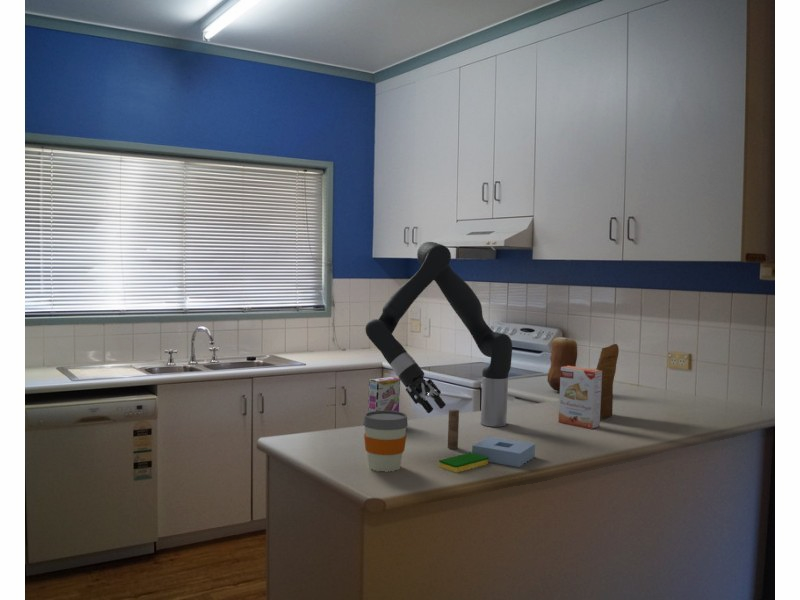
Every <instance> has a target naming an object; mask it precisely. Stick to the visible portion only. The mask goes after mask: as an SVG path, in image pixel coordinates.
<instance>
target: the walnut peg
mask: <svg viewBox="0 0 800 600" xmlns="http://www.w3.org/2000/svg"><path fill="white" fill-rule="evenodd" d="M459 419H460V410H459V409H448V427H447V449H448V448H449V449H448V450H458V449H457V448H459V422H460V421H459Z"/></svg>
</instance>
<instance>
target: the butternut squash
mask: <svg viewBox="0 0 800 600" xmlns="http://www.w3.org/2000/svg"><path fill="white" fill-rule="evenodd" d="M550 352H551V355H550V358H549V361H550V367H549V369H548V373H547V381H546V382H547V383H548V384H549V386H550V387H551V389H553V390H554V391H558V392H559V393H560V376H561V367H564V366H575V367H577V366H576V365H577V361H578V343H577V341H576V340H574V339H572V338H568V337H562V336H561V337H555V338H554V339H553V340H552V342H551V351H550Z"/></svg>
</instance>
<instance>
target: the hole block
mask: <svg viewBox="0 0 800 600" xmlns="http://www.w3.org/2000/svg"><path fill="white" fill-rule="evenodd" d="M471 453H475V454H478V455H481V456H485V457H488V463H494V464H499V465H506V466H511V467H517V468H520V467H522V466H523V465H525V464H526V463H528V462H529V461H531V460H532V459H534V458H535V455H536V443H532V442H525V441H518V440H513V439H508V438H500V437H494V436H488V437H486V438H484V439H482V440H480V441H478V442H476V443H474V444H473V445H472V447H471ZM533 457H534V458H533ZM530 459H531V460H530ZM527 461H528V462H527ZM524 463H525V464H524Z"/></svg>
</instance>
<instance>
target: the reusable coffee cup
mask: <svg viewBox="0 0 800 600" xmlns="http://www.w3.org/2000/svg"><path fill="white" fill-rule="evenodd" d="M408 425H409V424H408V415H407V414H406V413H405V412H400V411H399V412H397V411H372V412H368V411H367V412H366V413H364V417H363V426H364V434H363V438H364V448H365V451H366V453H367V462H368V464H367V465H368V469H369V470H371V469H373V470H372V471H374V470H376V471H375V472H379V471H385V472H384V473H391V472H390V471H392V472H395V470H397V471H399V470H400V469H401V465H402V458H403V453H404V451H405V447H406V441H407V433H406V432H407V427H408ZM398 469H399V470H398ZM388 471H389V472H388Z"/></svg>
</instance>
